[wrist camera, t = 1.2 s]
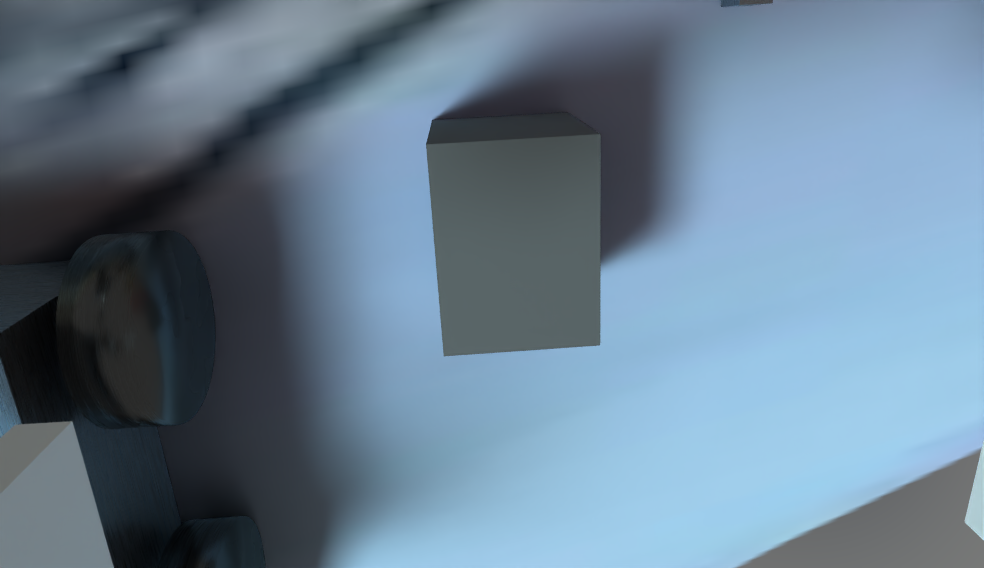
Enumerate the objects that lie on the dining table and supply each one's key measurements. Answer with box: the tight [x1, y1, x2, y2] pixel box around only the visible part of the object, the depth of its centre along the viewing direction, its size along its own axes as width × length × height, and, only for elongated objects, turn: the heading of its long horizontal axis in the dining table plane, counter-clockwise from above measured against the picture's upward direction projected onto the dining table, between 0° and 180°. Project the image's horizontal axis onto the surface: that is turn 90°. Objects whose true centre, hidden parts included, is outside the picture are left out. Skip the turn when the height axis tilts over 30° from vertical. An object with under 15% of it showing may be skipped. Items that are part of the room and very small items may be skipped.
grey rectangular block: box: [426, 112, 601, 356], centre depth 21 cm, size 6×4×6 cm
